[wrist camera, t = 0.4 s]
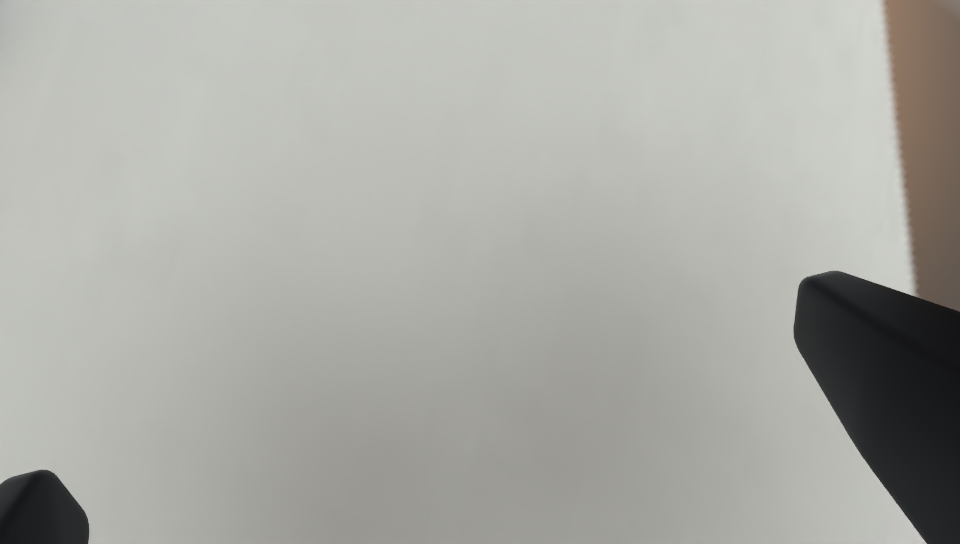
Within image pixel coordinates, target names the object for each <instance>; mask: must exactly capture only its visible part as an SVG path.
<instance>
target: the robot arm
mask: <svg viewBox="0 0 960 544" xmlns="http://www.w3.org/2000/svg"><path fill="white" fill-rule="evenodd" d="M794 339H795V343H796V345H797V348H798V350H799V352H800V353H801V355H802V357H803V358H804V360H805V362H806V363H807V365H808V367H809V369H810V370H811V372H812V374H813V375H814V377H815V379H816V380H817V382H818V384H819V385H820V387H821V389H822V391H823V392H824V394H825V396H826V397H827V399H828V401H829V402H830V404H831V406H832V408H833V409H834V411H835V413H836V414H837V416H838V418H839V419H840V421H841V423H842V425H843V426H844V428H845V430H846V431H847V433H848V435H849V436H850V438H851V440H852V441H853V443H854V444H855V446H856V447H857V449H858V451H859V452H860V454H861V455H862V456H863V458H864V459H865V461H866V462H867V464H868V465H869V466H870V468H871V469H872V471H873V472H874V473H875V475H876V476H877V477H878V479H879V480H880V481H881V483H882V484H883V485H884V487H885V488H886V489H887V491H888V492H889V493H890V495H891V496H892V497H893V499H894V500H895V502H896V503H897V504H898V506H899V507H900V508H901V510H902V511H903V512H904V514H905V515H906V516H907V518H908V519H909V520H910V522H911V523H912V524H913V526H914V527H915V528H916V530H917V531H918V532H919V534H920V535H921V536H922V538H923V539H924V540H925V542H926V543H927V544H960V312H959V311H956V310H953V309H950V308H947V307H944V306H941V305H938V304H935V303H932V302H929V301H926V300H923V299H920V298H917V297H914V296H911V295H909V294H906V293H903V292H900V291H897V290H894V289H891V288H888V287H885V286H882V285H879V284H876V283H873V282H870V281H867V280H864V279H861V278H858V277H855V276H852V275H849V274H846V273H843V272H840V271H829V272H825V273H821V274H817V275H813V276H809V277H806V278H805V279H803V280H802V281H801V283H800V285H799V288H798V295H797V304H796V312H795V321H794ZM88 540H89V523H88V518H87V516H86V514H85V512H84V510H83V509H82V507H81V506H80V505H79V504H78V502H77V501H76V500H75V499H74V497H73V496H72V495H71V494H70V492H69V491H68V490H67V488H66V487H65V486H64V485H63V483H62V482H61V481H60V480H59V478H58V477H57V476H56V475H55V474H54V473H52V472H51V471H48V470H37V471H33V472H29V473H25V474H22V475H18V476H14V477H11V478H9V479H7V480H5V481H4V482H3V483H1V484H0V544H88Z"/></svg>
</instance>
